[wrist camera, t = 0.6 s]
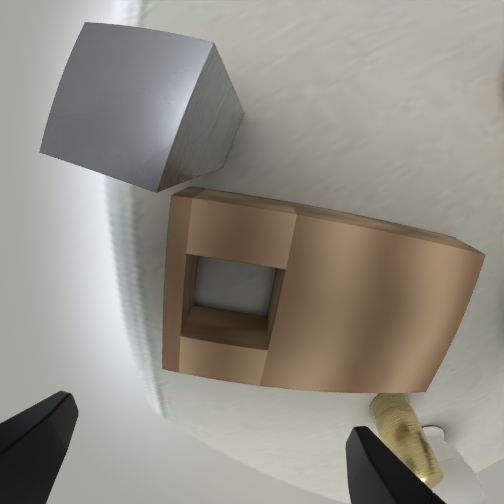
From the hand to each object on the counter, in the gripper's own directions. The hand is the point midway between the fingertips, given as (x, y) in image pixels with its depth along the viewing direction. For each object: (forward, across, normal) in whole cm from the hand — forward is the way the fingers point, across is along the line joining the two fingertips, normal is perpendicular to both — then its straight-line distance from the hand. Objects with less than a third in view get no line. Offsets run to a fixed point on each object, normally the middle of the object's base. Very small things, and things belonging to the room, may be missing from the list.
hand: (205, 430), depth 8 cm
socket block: (+13, -6, +1) cm, 14 cm away
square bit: (+13, +2, -9) cm, 16 cm away
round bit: (+13, -14, +12) cm, 23 cm away
